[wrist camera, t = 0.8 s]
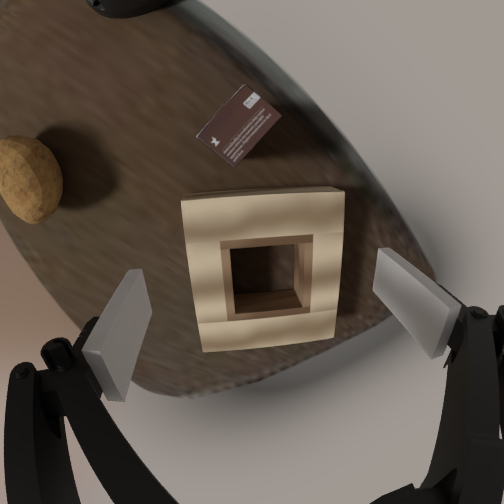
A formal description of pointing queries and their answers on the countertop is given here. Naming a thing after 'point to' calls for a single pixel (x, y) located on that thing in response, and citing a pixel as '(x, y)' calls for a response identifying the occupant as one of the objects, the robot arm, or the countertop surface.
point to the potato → (29, 178)
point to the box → (239, 125)
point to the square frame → (256, 235)
